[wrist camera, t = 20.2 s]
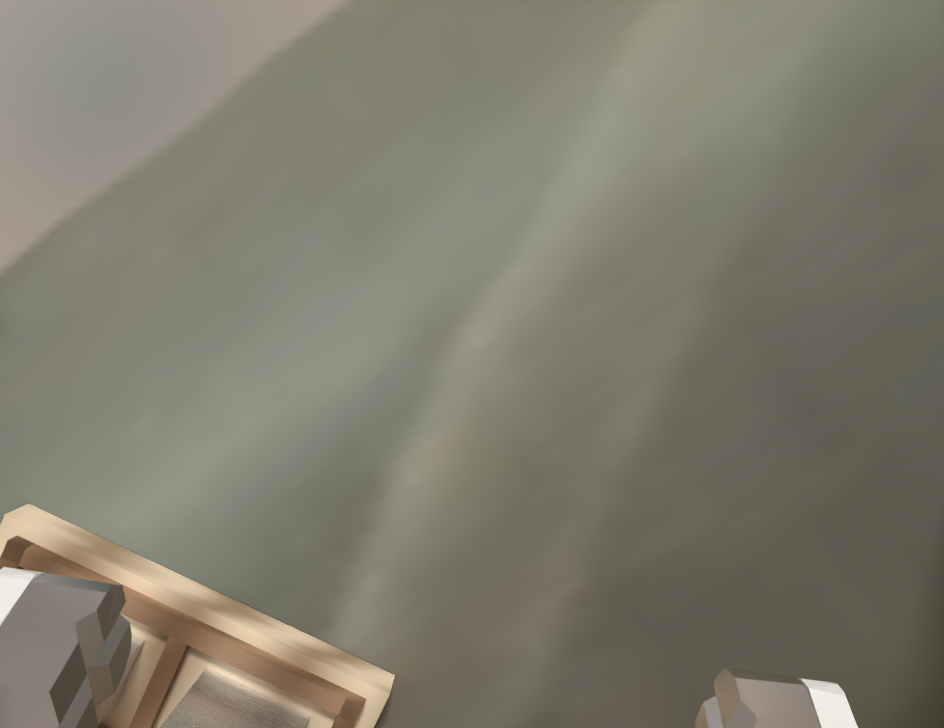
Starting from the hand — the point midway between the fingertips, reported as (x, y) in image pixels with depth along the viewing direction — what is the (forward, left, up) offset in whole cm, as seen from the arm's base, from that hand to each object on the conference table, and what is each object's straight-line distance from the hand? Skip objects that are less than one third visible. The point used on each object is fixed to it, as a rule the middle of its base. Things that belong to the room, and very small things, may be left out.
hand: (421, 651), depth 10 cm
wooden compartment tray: (+8, +21, -30) cm, 38 cm away
